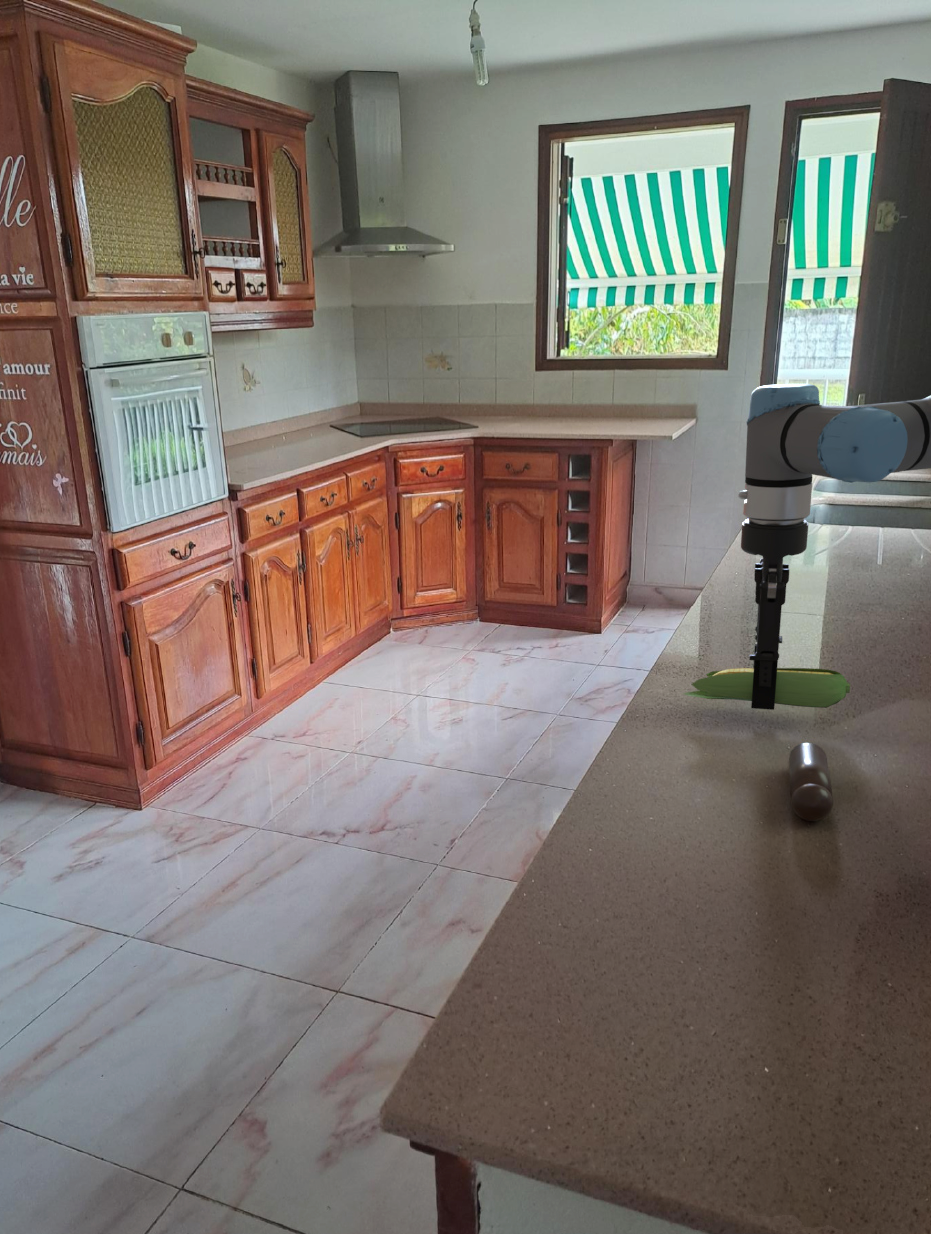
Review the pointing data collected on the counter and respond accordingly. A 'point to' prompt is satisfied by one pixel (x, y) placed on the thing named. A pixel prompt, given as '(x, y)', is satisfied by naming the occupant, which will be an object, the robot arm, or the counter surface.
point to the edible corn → (777, 686)
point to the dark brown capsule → (810, 782)
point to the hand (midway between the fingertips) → (762, 699)
